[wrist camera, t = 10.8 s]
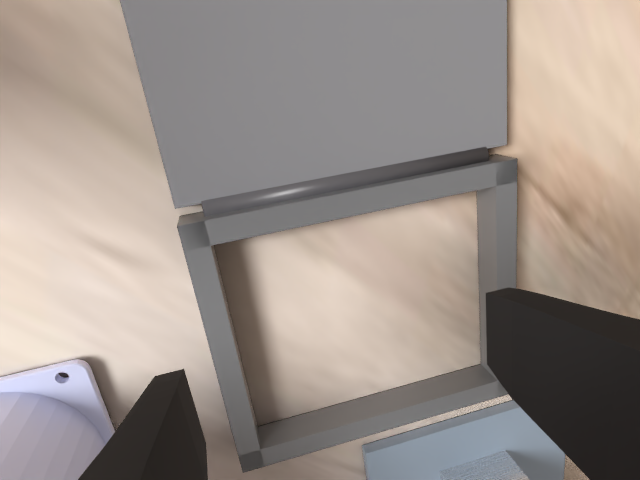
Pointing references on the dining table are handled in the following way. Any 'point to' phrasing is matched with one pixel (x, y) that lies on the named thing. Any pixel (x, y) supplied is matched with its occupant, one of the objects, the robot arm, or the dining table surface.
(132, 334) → the dining table surface
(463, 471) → the block
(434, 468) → the pad
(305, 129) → the hinged gray frame
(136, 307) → the dining table surface
